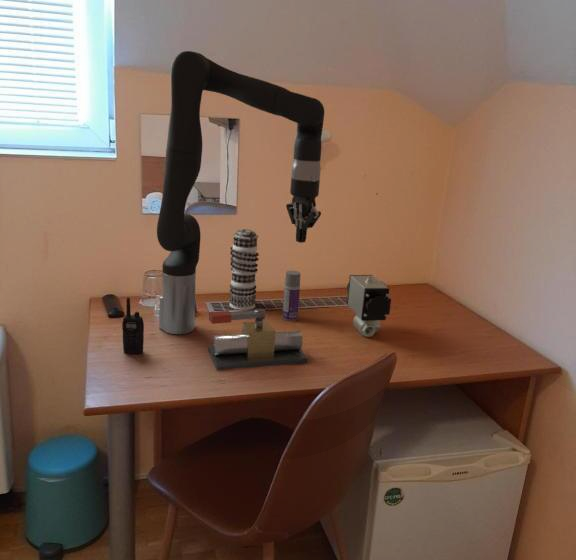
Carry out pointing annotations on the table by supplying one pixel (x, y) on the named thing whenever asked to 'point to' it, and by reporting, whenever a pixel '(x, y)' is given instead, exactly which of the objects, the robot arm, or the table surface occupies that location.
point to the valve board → (258, 360)
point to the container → (291, 295)
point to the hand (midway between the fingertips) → (300, 241)
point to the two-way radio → (132, 331)
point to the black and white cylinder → (243, 270)
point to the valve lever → (235, 316)
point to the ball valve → (368, 302)
